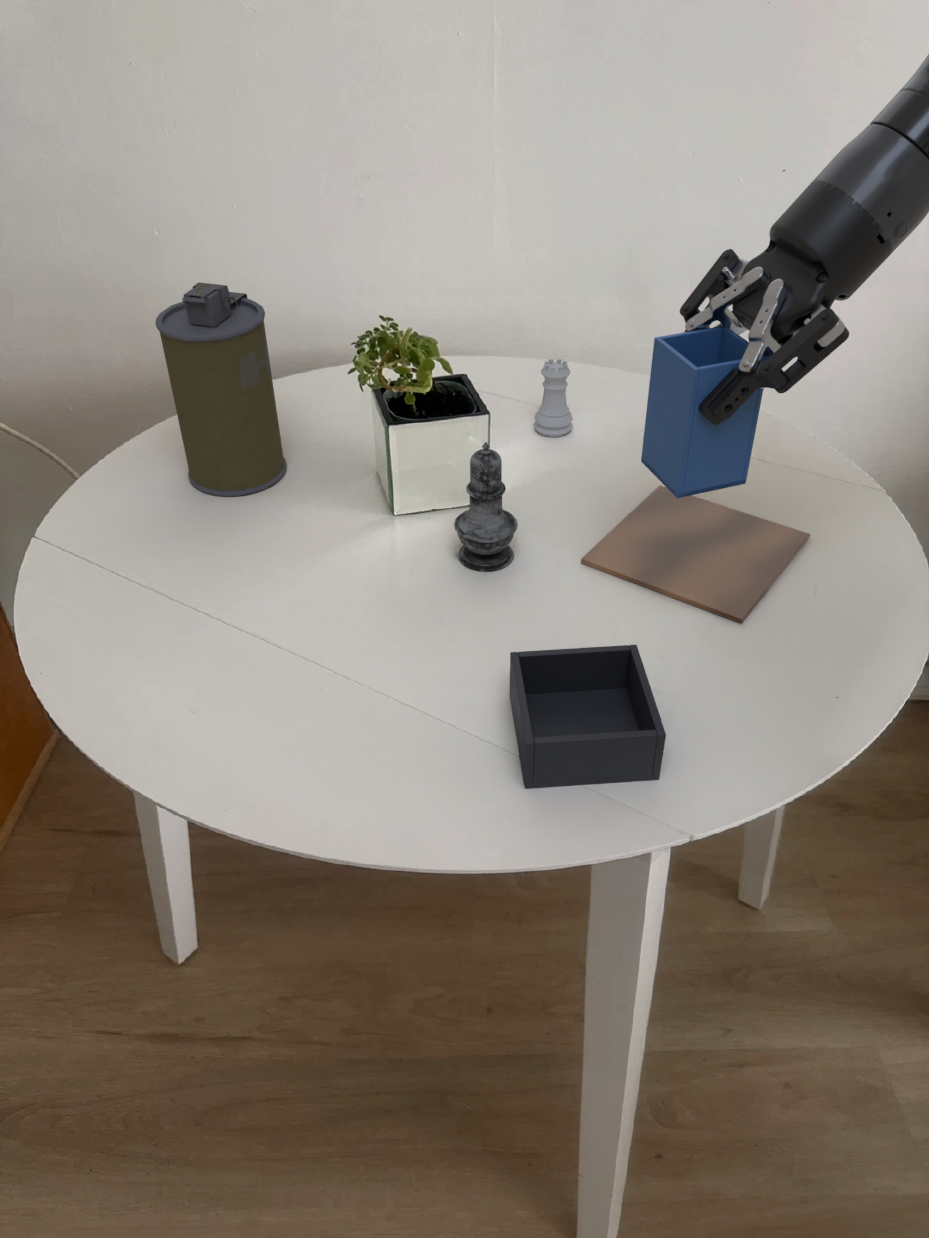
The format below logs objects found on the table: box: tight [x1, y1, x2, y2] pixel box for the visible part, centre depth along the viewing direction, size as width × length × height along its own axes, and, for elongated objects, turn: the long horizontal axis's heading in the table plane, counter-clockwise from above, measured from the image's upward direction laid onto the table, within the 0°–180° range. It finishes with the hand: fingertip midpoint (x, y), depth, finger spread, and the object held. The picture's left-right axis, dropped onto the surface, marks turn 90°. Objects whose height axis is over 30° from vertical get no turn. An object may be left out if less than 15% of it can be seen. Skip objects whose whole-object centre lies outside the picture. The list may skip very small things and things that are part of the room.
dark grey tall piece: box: [453, 441, 519, 573], centre depth 91 cm, size 6×6×12 cm
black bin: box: [509, 644, 667, 789], centre depth 74 cm, size 10×10×5 cm
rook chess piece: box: [533, 358, 574, 438], centre depth 111 cm, size 4×4×8 cm
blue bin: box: [640, 326, 769, 498], centre depth 76 cm, size 6×6×10 cm
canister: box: [154, 282, 288, 497], centre depth 101 cm, size 11×10×20 cm
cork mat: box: [580, 485, 811, 625], centre depth 94 cm, size 16×16×1 cm
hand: (684, 397), depth 74 cm, fingers closed on blue bin, 6 cm apart
